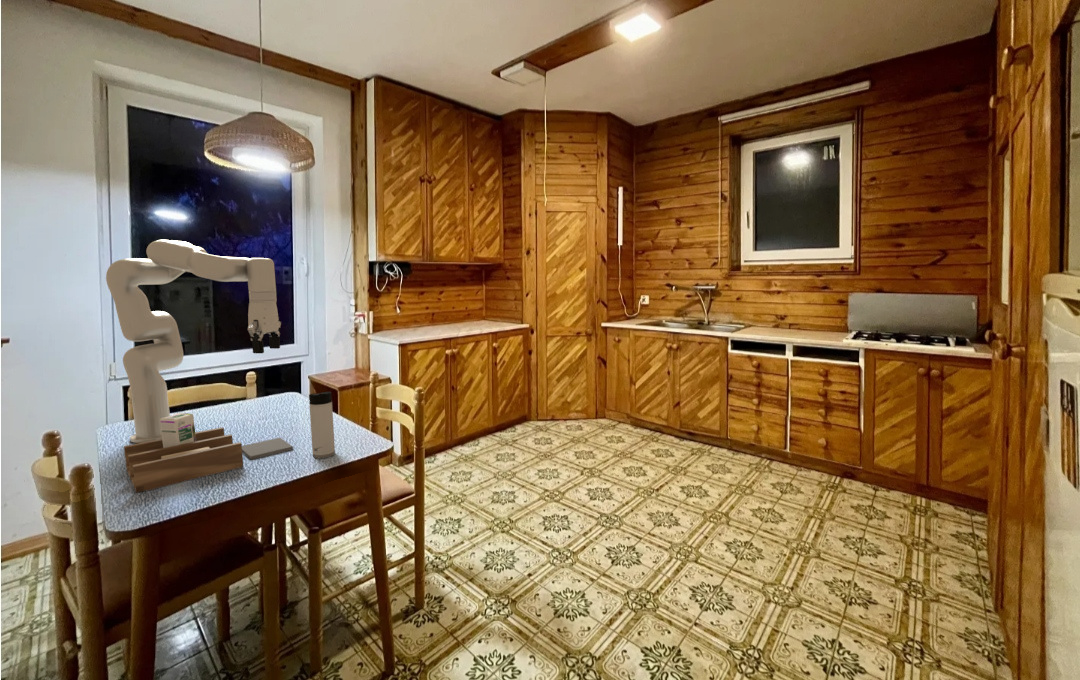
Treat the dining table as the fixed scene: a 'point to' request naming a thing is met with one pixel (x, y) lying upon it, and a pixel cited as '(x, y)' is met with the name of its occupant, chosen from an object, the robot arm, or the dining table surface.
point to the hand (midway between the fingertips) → (267, 350)
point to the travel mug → (322, 425)
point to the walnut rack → (181, 460)
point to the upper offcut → (184, 452)
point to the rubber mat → (266, 448)
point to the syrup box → (177, 429)
